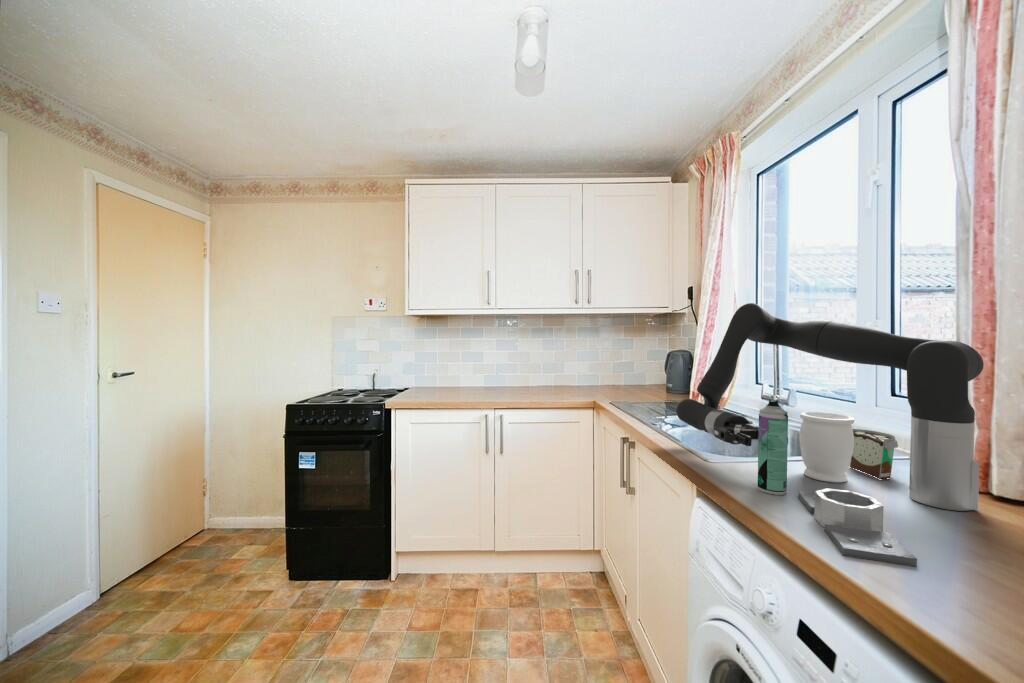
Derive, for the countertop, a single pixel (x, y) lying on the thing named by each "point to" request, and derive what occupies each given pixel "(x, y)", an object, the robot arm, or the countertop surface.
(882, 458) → the food container
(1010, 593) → the countertop surface
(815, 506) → the grey octagonal flange mount
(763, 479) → the spray can
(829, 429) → the jar
